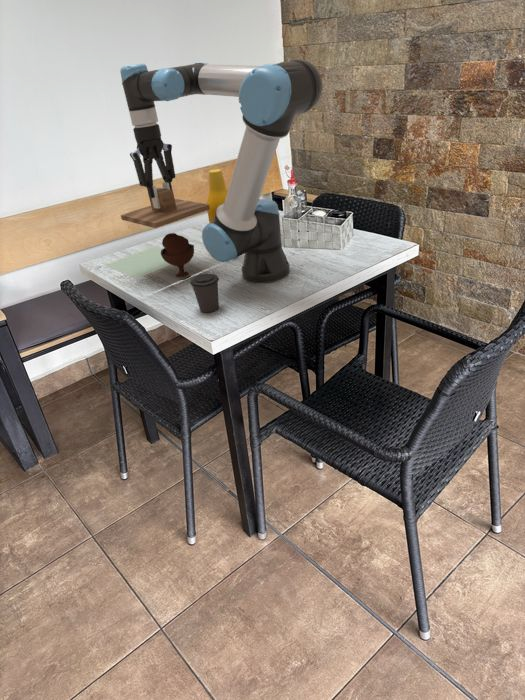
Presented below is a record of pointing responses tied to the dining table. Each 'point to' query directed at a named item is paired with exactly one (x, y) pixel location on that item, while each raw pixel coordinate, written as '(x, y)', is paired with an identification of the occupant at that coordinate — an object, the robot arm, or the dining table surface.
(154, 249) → the green mat
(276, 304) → the dining table surface
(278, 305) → the dining table surface
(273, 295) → the dining table surface
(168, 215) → the walnut cover
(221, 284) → the dining table surface
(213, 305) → the coffee cup
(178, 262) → the ice cream bowl
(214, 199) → the yellow bottle
